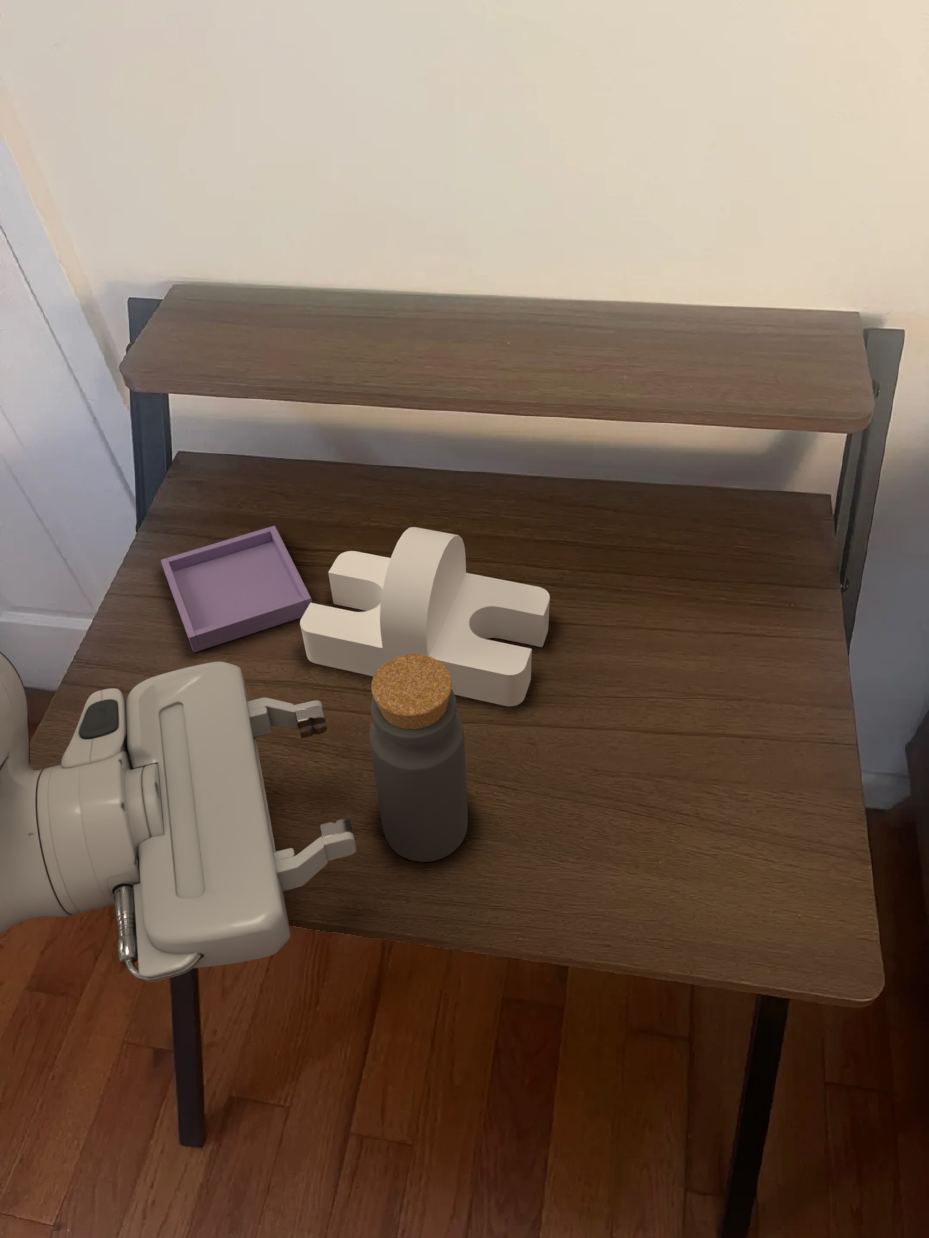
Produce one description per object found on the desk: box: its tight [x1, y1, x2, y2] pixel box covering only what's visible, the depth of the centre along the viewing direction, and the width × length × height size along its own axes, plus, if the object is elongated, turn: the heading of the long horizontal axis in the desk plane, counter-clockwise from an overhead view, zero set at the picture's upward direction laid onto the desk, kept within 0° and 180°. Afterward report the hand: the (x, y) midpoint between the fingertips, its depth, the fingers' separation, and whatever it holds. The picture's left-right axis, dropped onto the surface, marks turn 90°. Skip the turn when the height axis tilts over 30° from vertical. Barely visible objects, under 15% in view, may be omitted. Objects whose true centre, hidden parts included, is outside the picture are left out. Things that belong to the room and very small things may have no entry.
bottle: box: [368, 654, 469, 863], centre depth 64 cm, size 6×6×15 cm
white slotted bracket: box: [299, 526, 551, 707], centre depth 78 cm, size 10×18×10 cm, turn 73°
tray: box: [160, 525, 313, 653], centre depth 85 cm, size 10×10×2 cm
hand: (338, 772), depth 63 cm, fingers open, 8 cm apart
